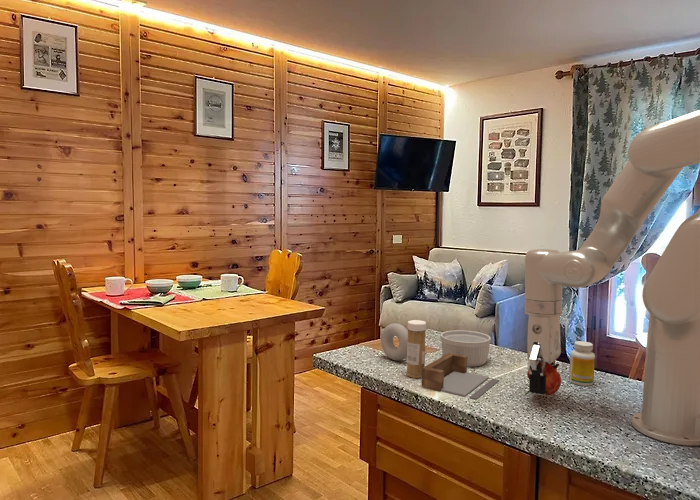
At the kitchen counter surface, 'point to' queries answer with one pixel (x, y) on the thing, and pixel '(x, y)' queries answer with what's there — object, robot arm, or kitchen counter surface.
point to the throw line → (484, 389)
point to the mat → (462, 383)
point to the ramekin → (467, 345)
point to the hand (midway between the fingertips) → (542, 387)
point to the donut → (388, 343)
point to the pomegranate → (550, 379)
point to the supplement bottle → (582, 364)
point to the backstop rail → (442, 370)
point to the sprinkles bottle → (416, 348)
